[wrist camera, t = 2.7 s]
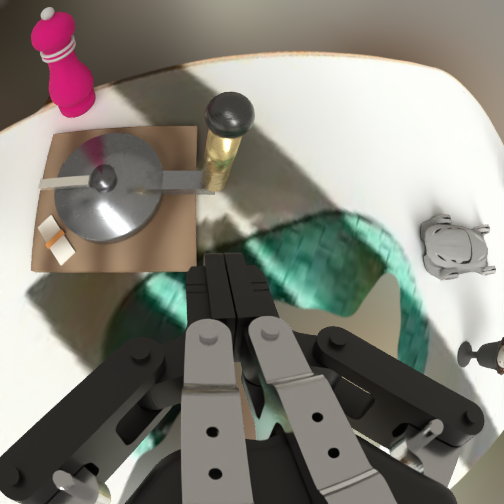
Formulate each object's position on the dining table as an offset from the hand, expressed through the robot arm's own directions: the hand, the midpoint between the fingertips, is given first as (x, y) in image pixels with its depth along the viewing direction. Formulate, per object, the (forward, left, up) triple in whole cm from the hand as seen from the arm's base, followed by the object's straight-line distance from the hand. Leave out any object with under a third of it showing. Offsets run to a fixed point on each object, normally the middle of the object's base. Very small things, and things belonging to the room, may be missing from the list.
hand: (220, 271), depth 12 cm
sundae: (+47, -15, -25) cm, 55 cm away
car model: (+47, +6, -25) cm, 53 cm away
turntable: (-8, +13, -22) cm, 27 cm away
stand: (-11, +13, -25) cm, 30 cm away
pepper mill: (-20, +30, -25) cm, 44 cm away
